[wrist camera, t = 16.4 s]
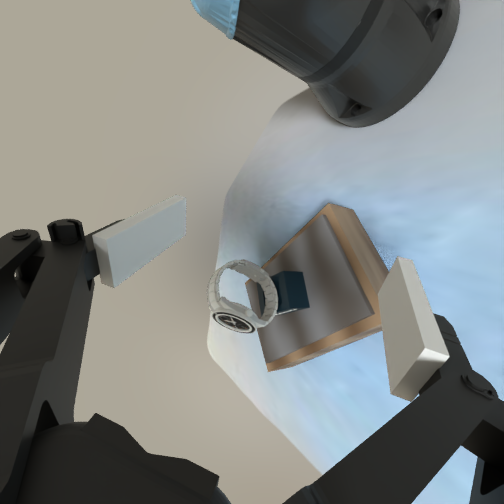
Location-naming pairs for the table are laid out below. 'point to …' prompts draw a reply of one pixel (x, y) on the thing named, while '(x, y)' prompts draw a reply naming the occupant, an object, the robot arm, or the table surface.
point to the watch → (269, 293)
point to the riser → (324, 289)
